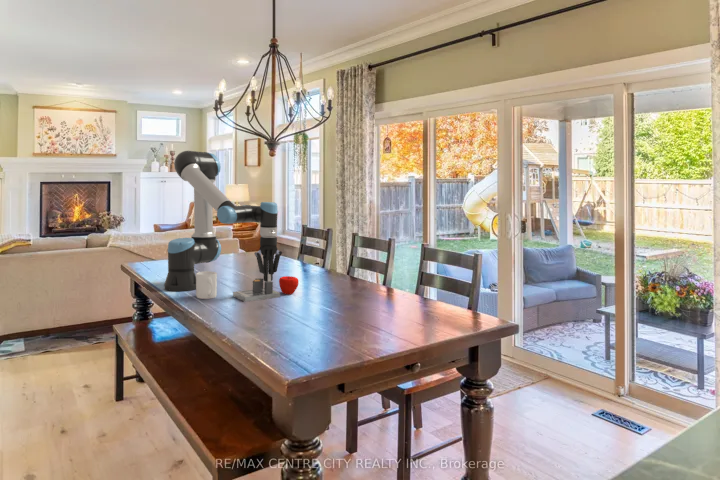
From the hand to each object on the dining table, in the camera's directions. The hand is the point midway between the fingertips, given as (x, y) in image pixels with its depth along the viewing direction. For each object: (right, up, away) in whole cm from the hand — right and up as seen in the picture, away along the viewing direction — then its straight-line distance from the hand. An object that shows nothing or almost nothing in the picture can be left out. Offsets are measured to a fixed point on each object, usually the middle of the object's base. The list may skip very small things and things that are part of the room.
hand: (268, 288), depth 221 cm
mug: (-25, -4, -8) cm, 26 cm away
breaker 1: (-5, -1, +2) cm, 5 cm away
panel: (-5, -4, -3) cm, 7 cm away
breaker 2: (+1, -2, -5) cm, 5 cm away
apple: (+8, -3, +6) cm, 11 cm away
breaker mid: (-4, -2, -3) cm, 6 cm away
